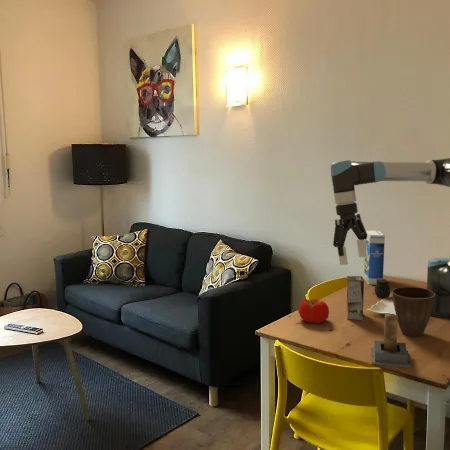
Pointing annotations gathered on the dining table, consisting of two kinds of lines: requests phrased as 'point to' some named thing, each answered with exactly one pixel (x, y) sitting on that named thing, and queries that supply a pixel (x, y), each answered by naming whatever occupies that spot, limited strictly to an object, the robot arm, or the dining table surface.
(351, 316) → the coffee box
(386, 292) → the mate gourd
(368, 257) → the string lights box
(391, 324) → the brown wooden cylinder
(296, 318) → the dining table surface
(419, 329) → the plant pot
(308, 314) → the tomato
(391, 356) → the grey square socket base
